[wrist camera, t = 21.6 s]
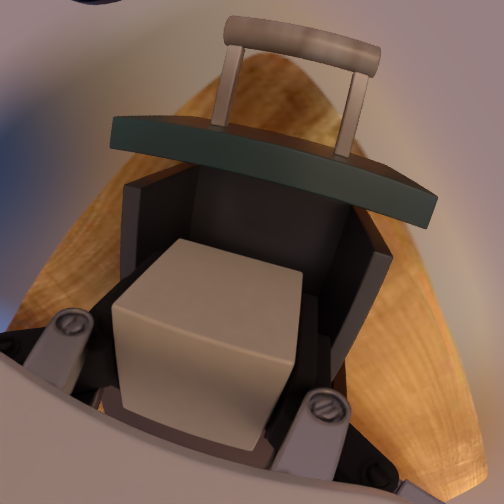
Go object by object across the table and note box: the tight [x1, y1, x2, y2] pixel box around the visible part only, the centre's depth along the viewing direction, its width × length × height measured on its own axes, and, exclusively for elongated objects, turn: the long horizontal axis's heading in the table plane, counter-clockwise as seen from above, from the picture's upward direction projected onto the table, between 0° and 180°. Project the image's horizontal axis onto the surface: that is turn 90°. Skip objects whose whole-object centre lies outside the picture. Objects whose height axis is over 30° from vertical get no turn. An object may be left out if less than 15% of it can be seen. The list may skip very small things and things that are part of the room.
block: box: [112, 239, 303, 451], centre depth 9 cm, size 4×4×4 cm
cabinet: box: [101, 360, 347, 469], centre depth 20 cm, size 15×13×10 cm
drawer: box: [110, 16, 438, 383], centre depth 14 cm, size 18×11×8 cm, turn 168°
